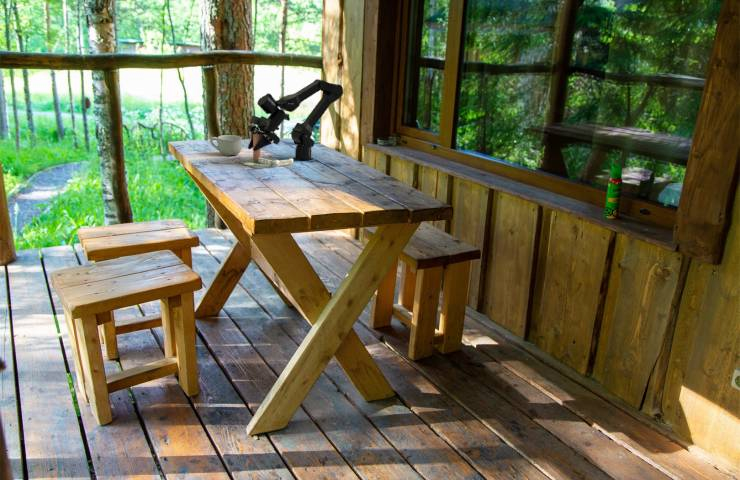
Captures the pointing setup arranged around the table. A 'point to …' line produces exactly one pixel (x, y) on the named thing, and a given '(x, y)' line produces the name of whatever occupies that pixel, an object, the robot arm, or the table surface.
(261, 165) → the board
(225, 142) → the teacup
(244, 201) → the table surface
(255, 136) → the brown cylinder with stick
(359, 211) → the table surface
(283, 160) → the cream dumbbell
